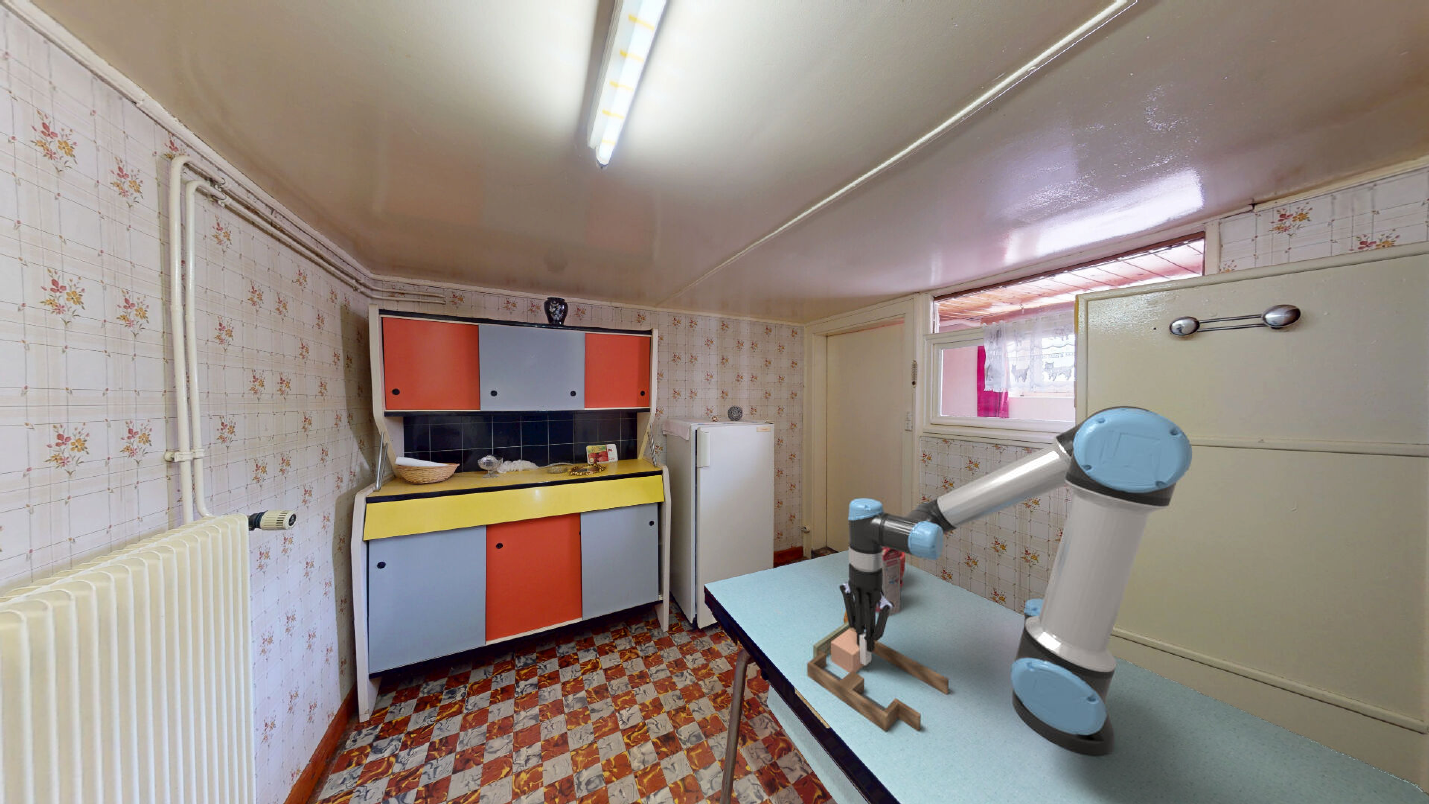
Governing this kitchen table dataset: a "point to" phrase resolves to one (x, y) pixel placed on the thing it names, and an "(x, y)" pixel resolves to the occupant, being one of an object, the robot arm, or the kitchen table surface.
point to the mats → (860, 694)
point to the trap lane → (854, 683)
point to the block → (846, 651)
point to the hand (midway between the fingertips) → (865, 661)
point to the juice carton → (891, 579)
